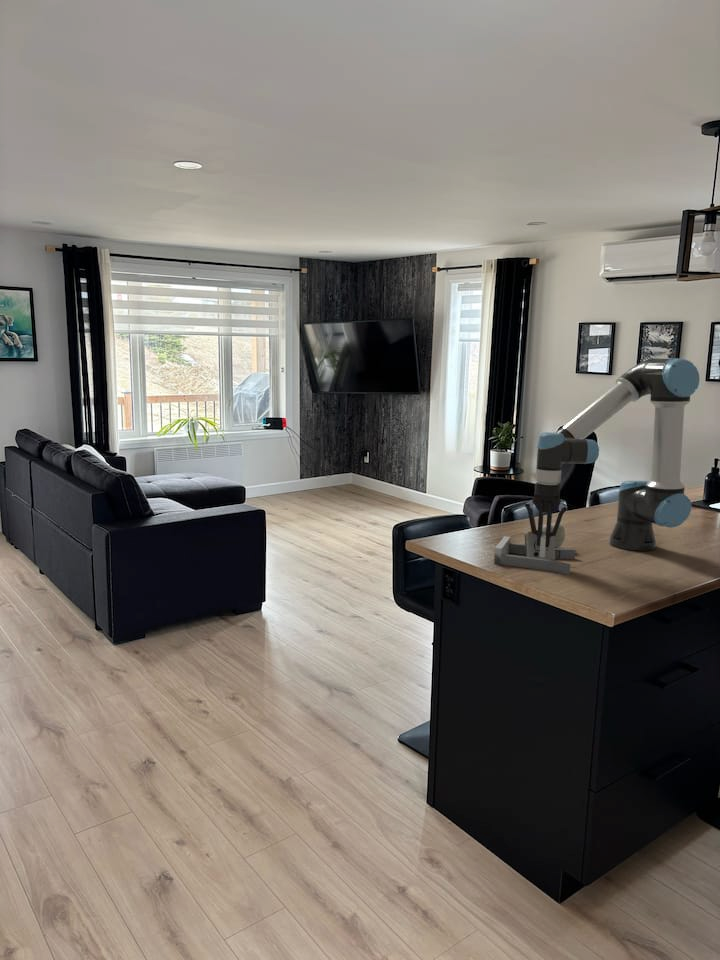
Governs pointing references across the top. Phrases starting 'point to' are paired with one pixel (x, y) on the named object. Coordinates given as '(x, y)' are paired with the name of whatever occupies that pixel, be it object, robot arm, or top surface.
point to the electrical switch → (534, 550)
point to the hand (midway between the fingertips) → (542, 556)
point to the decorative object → (557, 534)
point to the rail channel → (528, 562)
